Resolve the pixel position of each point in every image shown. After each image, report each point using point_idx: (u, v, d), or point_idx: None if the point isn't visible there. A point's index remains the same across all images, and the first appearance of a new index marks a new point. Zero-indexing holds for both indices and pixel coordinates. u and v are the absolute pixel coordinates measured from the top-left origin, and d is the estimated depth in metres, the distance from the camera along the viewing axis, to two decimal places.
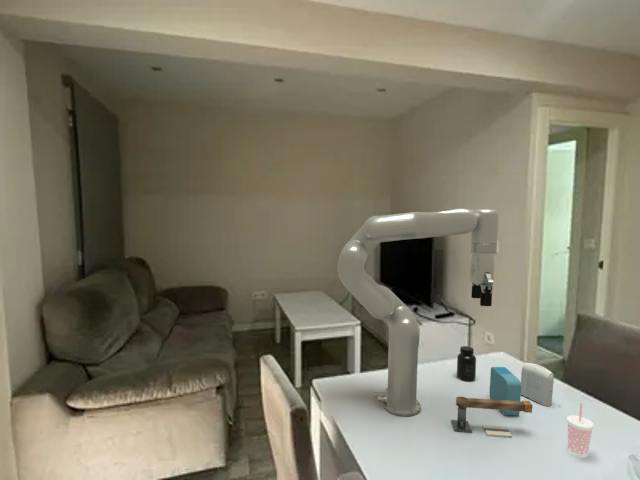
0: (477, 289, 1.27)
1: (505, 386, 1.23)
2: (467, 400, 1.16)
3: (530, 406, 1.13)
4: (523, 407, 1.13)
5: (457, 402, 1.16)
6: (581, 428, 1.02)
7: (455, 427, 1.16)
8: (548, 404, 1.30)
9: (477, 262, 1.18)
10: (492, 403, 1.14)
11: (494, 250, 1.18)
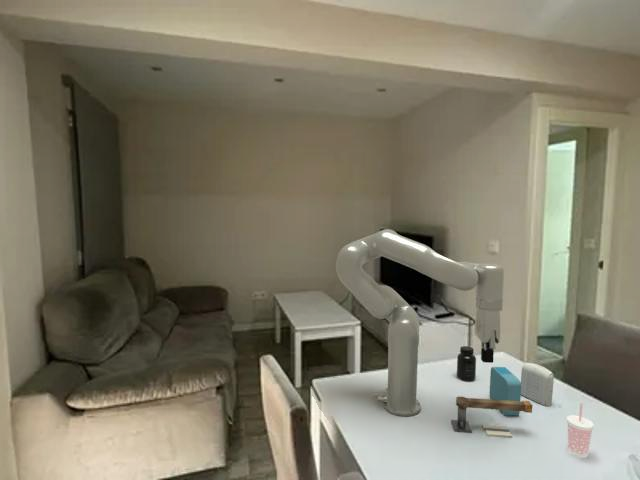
0: None
1: (505, 386, 1.23)
2: (467, 400, 1.16)
3: (530, 406, 1.13)
4: (523, 407, 1.13)
5: (457, 402, 1.16)
6: (581, 428, 1.02)
7: (455, 427, 1.16)
8: (548, 404, 1.30)
9: (483, 319, 1.16)
10: (492, 403, 1.14)
11: (500, 307, 1.15)
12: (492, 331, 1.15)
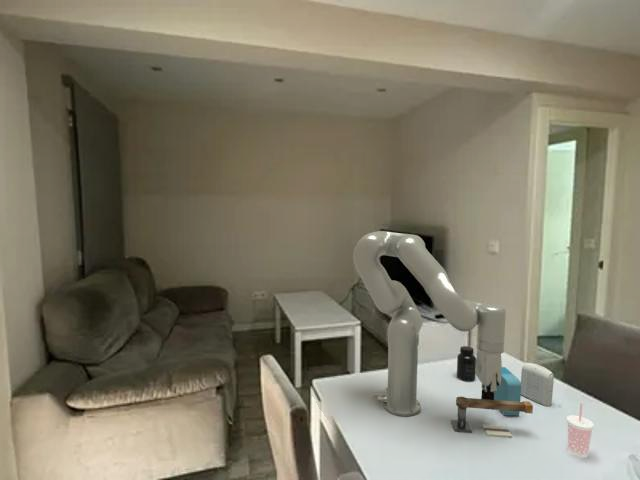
0: None
1: (505, 386, 1.23)
2: (467, 400, 1.16)
3: (530, 407, 1.13)
4: (523, 408, 1.13)
5: (457, 402, 1.16)
6: (581, 428, 1.02)
7: (455, 427, 1.16)
8: (548, 404, 1.30)
9: (484, 361, 1.14)
10: (492, 404, 1.14)
11: (501, 349, 1.13)
12: (493, 374, 1.13)
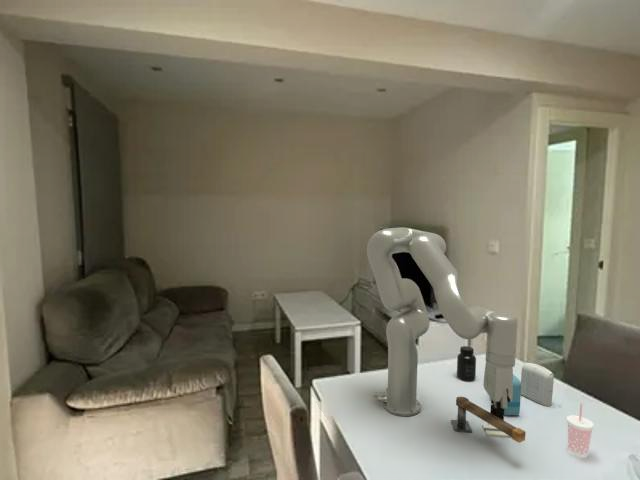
0: None
1: None
2: (464, 401, 1.15)
3: (517, 434, 0.99)
4: (511, 432, 1.01)
5: None
6: (581, 428, 1.02)
7: (455, 427, 1.16)
8: (548, 404, 1.30)
9: (494, 375, 1.05)
10: (483, 414, 1.08)
11: (513, 362, 1.04)
12: (504, 389, 1.04)
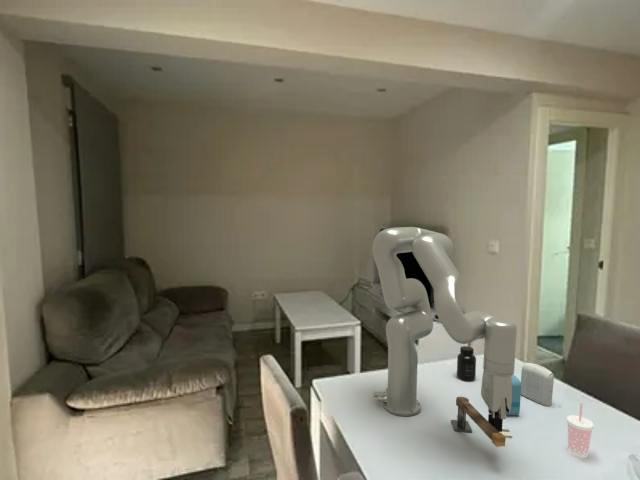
0: None
1: None
2: (463, 401, 1.15)
3: (495, 438, 0.97)
4: (491, 435, 0.99)
5: None
6: (581, 428, 1.02)
7: (455, 427, 1.16)
8: (548, 404, 1.30)
9: (492, 384, 1.00)
10: (473, 415, 1.08)
11: (512, 370, 1.00)
12: (502, 399, 0.99)
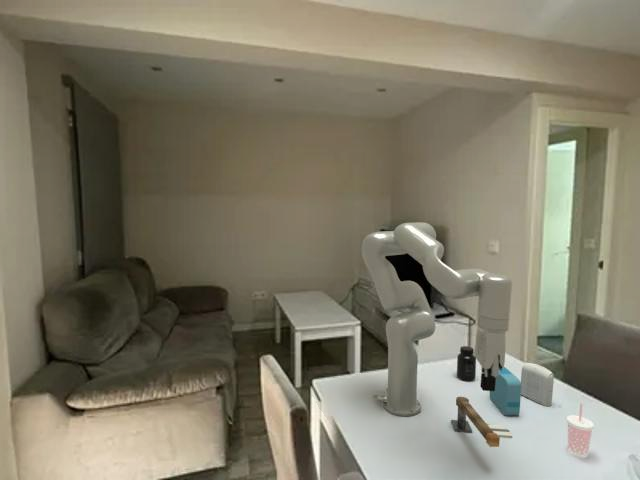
0: None
1: (505, 386, 1.23)
2: (462, 401, 1.15)
3: (489, 438, 0.97)
4: (486, 435, 0.99)
5: None
6: (581, 428, 1.02)
7: (455, 427, 1.16)
8: (548, 404, 1.30)
9: (485, 341, 0.97)
10: (471, 415, 1.08)
11: (506, 327, 0.96)
12: (495, 355, 0.96)
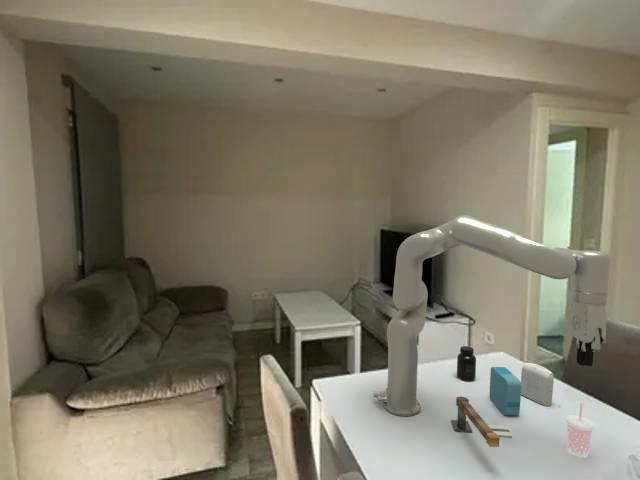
0: None
1: (505, 386, 1.23)
2: (462, 401, 1.15)
3: (489, 438, 0.97)
4: (486, 435, 0.99)
5: None
6: (581, 428, 1.02)
7: (455, 427, 1.16)
8: (548, 404, 1.30)
9: (585, 315, 0.99)
10: (471, 415, 1.08)
11: (605, 301, 0.99)
12: (596, 329, 0.98)
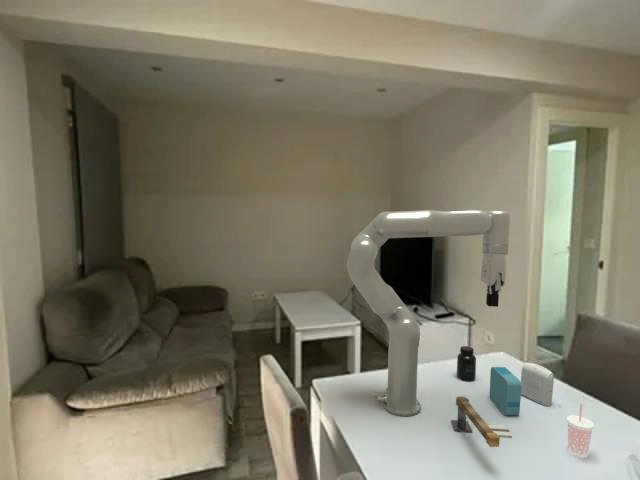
0: None
1: (505, 386, 1.23)
2: (462, 401, 1.15)
3: (489, 438, 0.97)
4: (486, 435, 0.99)
5: None
6: (581, 428, 1.02)
7: (455, 427, 1.16)
8: (548, 404, 1.30)
9: (489, 263, 1.20)
10: (471, 415, 1.08)
11: (506, 251, 1.19)
12: (498, 274, 1.19)
